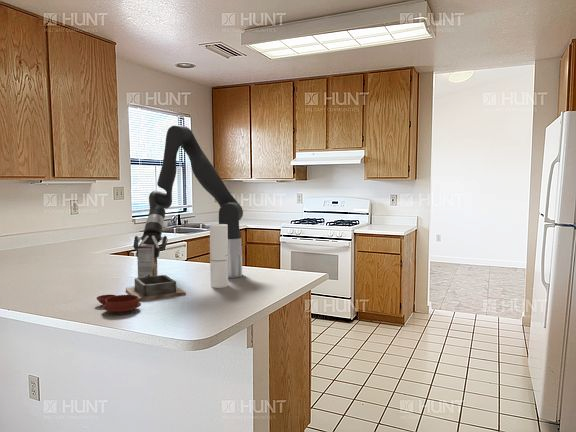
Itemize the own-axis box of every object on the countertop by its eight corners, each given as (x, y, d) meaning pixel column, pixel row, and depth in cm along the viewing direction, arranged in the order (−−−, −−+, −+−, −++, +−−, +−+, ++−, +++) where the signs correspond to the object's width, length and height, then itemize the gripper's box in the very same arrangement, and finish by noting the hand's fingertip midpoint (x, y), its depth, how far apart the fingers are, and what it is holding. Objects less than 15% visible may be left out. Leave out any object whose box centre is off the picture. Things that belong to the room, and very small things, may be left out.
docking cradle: (171, 285, 177) (171, 273, 177) (185, 294, 162) (185, 281, 161) (125, 290, 168) (125, 278, 167) (136, 301, 152) (135, 287, 152)
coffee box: (142, 280, 187) (141, 243, 185) (158, 279, 187) (157, 242, 186) (137, 285, 178) (136, 246, 176) (153, 284, 178) (152, 245, 177)
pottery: (113, 319, 132) (112, 305, 132) (85, 307, 146) (85, 294, 146) (148, 311, 141) (147, 298, 141) (118, 300, 155) (118, 288, 154)
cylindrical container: (231, 284, 178) (230, 224, 177) (223, 288, 172) (222, 225, 170) (215, 283, 181) (215, 223, 179) (207, 287, 174) (206, 225, 172)
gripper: (135, 221, 189) (127, 251, 178) (168, 221, 189) (162, 251, 178) (139, 231, 194) (131, 262, 184) (172, 231, 195) (165, 262, 184)
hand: (147, 257), depth 181 cm, fingers closed on coffee box, 6 cm apart
